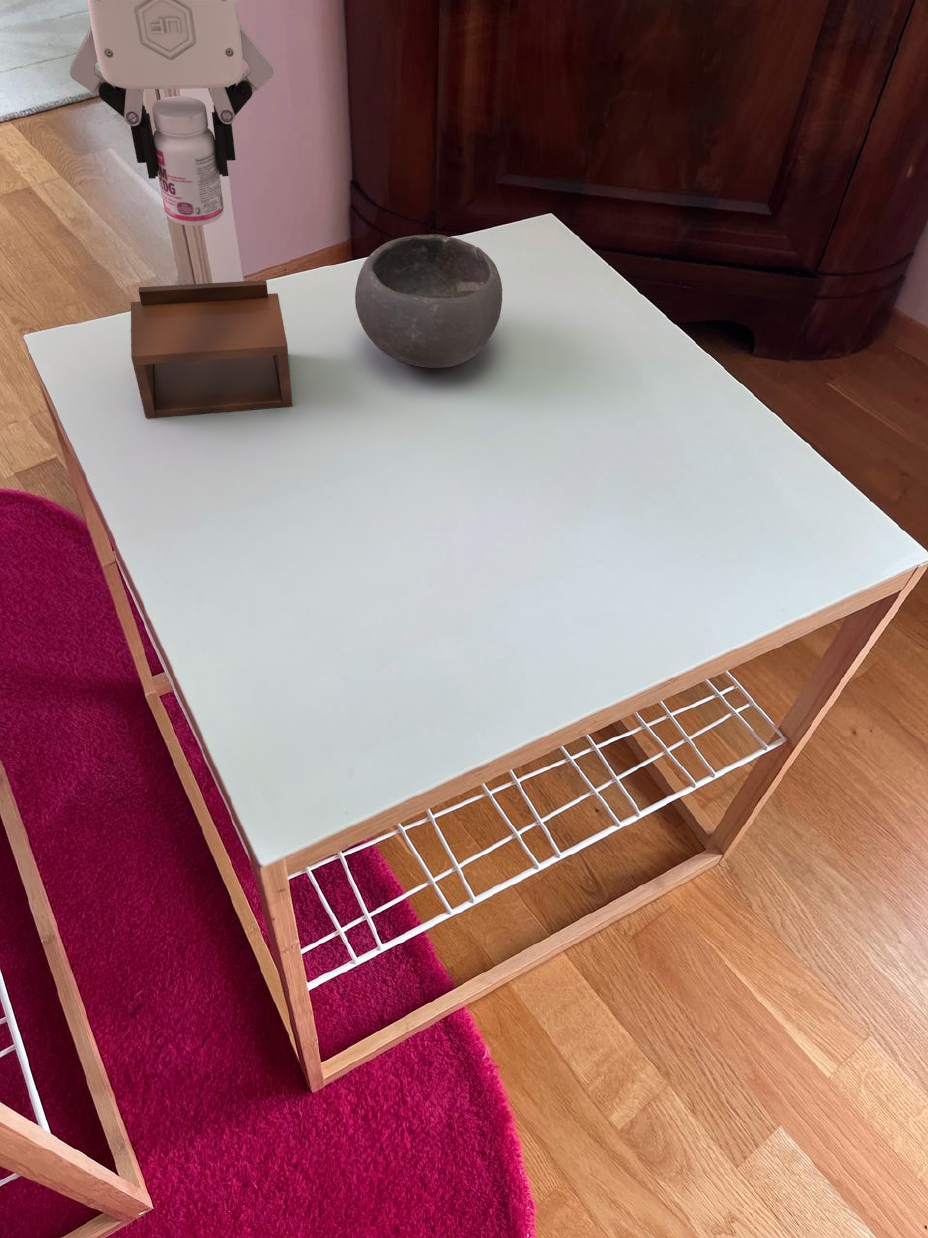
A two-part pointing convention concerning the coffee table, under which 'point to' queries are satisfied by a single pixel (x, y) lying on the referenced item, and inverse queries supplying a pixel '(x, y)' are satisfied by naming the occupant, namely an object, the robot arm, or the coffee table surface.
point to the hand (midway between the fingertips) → (188, 167)
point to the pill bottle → (187, 161)
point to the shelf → (209, 349)
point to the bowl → (429, 300)
